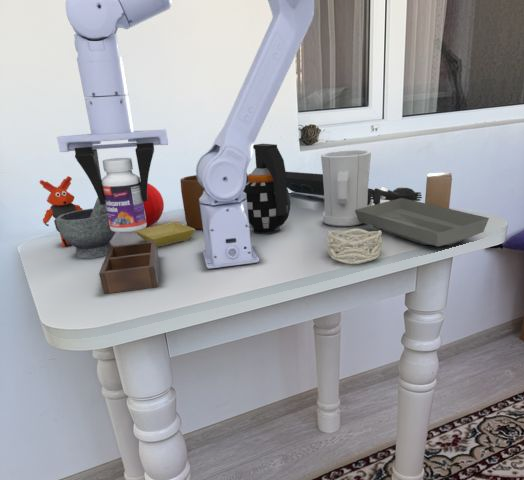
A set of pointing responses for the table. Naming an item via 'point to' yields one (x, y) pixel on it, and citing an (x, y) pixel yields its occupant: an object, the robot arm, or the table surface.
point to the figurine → (392, 194)
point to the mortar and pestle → (87, 230)
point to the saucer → (166, 233)
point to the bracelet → (343, 243)
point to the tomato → (153, 205)
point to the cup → (345, 186)
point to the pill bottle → (123, 196)
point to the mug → (192, 201)
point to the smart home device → (305, 183)
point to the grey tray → (422, 221)
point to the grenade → (267, 191)
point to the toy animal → (59, 203)
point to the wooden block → (438, 189)
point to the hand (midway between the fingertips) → (124, 201)
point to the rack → (130, 267)
